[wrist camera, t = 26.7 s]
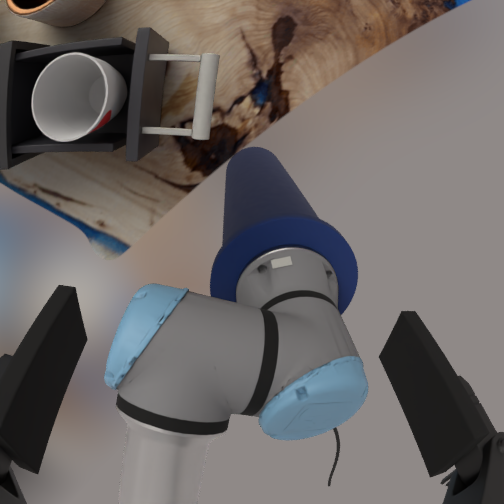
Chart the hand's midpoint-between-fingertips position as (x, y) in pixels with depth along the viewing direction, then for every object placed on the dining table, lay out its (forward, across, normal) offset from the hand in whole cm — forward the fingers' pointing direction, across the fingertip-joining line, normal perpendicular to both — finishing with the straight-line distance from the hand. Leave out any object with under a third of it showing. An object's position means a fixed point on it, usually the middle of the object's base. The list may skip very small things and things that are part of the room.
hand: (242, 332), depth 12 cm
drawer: (+28, -14, +8) cm, 32 cm away
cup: (+27, -16, +8) cm, 32 cm away
